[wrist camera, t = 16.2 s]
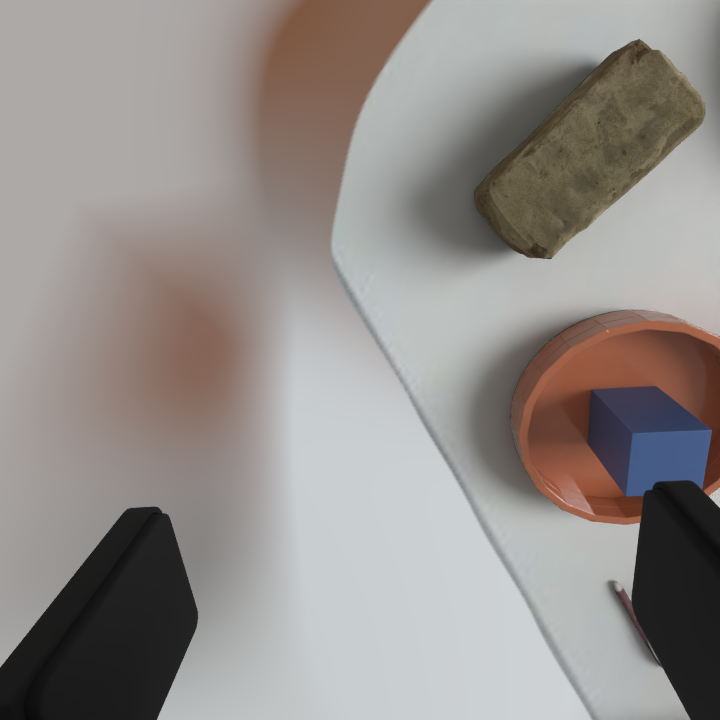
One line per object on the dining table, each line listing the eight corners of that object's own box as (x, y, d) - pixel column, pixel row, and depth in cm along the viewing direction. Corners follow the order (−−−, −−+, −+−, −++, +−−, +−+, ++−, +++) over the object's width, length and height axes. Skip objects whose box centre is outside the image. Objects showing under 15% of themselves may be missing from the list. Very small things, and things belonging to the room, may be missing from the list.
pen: (668, 663, 43) (674, 674, 43) (659, 666, 44) (665, 677, 43) (616, 575, 41) (621, 585, 40) (607, 579, 41) (612, 588, 40)
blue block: (587, 443, 36) (625, 496, 30) (590, 389, 35) (632, 433, 28) (649, 441, 36) (701, 494, 29) (656, 385, 34) (712, 429, 28)
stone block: (672, 121, 29) (724, 109, 24) (521, 262, 33) (541, 275, 28) (610, 45, 28) (652, 18, 23) (461, 199, 31) (472, 203, 27)
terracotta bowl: (467, 418, 37) (473, 437, 34) (630, 263, 32) (653, 271, 29) (605, 531, 39) (621, 558, 36) (776, 403, 34) (809, 423, 32)
